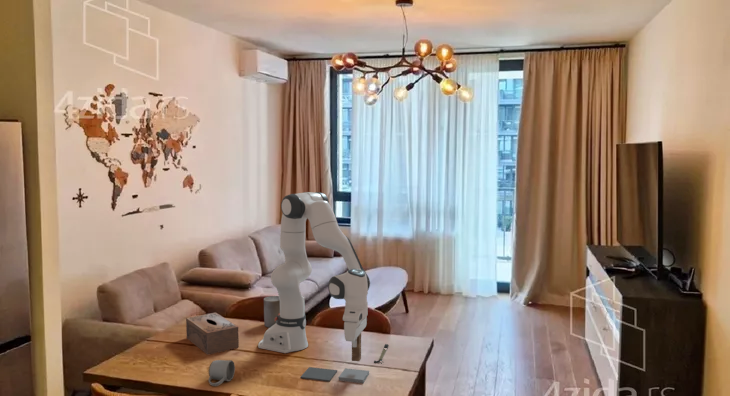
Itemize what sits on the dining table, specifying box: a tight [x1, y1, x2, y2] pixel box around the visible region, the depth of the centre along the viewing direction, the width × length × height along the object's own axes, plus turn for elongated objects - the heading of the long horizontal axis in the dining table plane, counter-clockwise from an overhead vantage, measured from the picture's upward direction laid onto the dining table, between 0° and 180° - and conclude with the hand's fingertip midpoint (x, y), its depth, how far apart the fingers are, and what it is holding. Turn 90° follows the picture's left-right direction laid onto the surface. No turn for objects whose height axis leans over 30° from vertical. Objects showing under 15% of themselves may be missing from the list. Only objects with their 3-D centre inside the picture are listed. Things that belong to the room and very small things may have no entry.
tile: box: [338, 367, 370, 384], centre depth 224 cm, size 10×2×9 cm
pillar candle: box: [263, 295, 280, 329], centre depth 286 cm, size 10×10×15 cm
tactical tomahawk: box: [373, 343, 390, 365], centre depth 248 cm, size 21×7×1 cm, turn 166°
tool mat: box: [300, 366, 338, 383], centre depth 226 cm, size 12×10×1 cm
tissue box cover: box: [185, 311, 240, 356], centre depth 260 cm, size 26×14×10 cm, turn 37°
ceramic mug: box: [208, 359, 236, 387], centre depth 219 cm, size 11×8×8 cm
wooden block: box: [351, 332, 362, 362], centre depth 226 cm, size 3×3×14 cm
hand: (356, 344), depth 226 cm, fingers closed on wooden block, 3 cm apart
